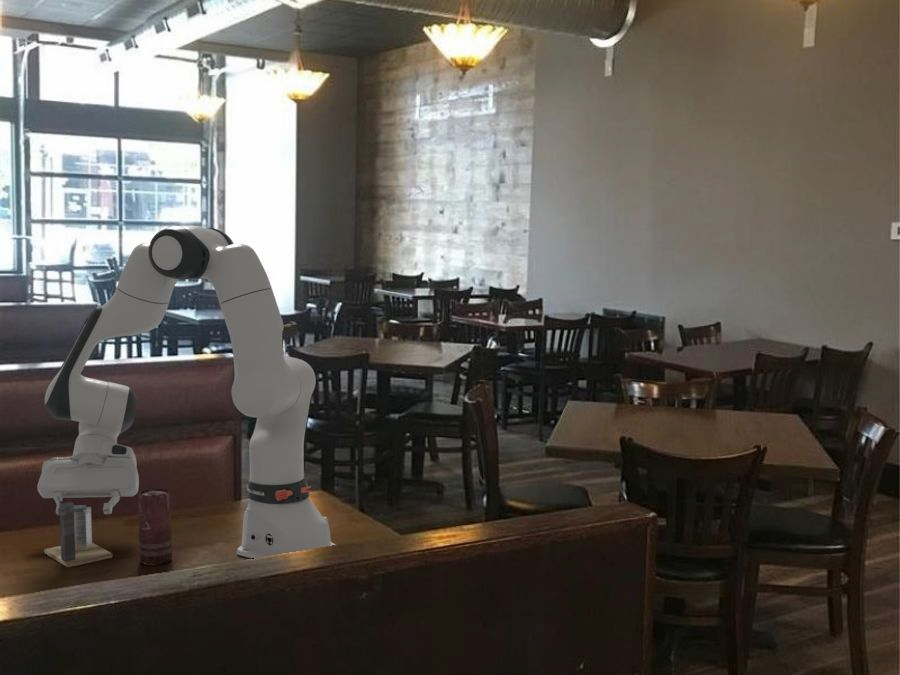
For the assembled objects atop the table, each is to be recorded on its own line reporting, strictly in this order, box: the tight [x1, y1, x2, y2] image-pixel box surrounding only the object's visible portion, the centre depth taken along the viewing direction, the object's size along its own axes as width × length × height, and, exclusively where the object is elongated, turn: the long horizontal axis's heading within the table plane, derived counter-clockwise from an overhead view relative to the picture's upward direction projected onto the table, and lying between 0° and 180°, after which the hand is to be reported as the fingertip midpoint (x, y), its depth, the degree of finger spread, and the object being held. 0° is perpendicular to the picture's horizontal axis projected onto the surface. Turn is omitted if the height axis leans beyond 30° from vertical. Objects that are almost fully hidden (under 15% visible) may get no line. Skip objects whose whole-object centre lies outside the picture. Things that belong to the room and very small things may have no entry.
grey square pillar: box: [74, 504, 93, 551], centre depth 194 cm, size 4×4×9 cm
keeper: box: [43, 501, 114, 568], centre depth 191 cm, size 13×11×12 cm
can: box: [137, 488, 173, 565], centre depth 189 cm, size 6×6×14 cm
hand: (83, 513), depth 199 cm, fingers open, 8 cm apart
